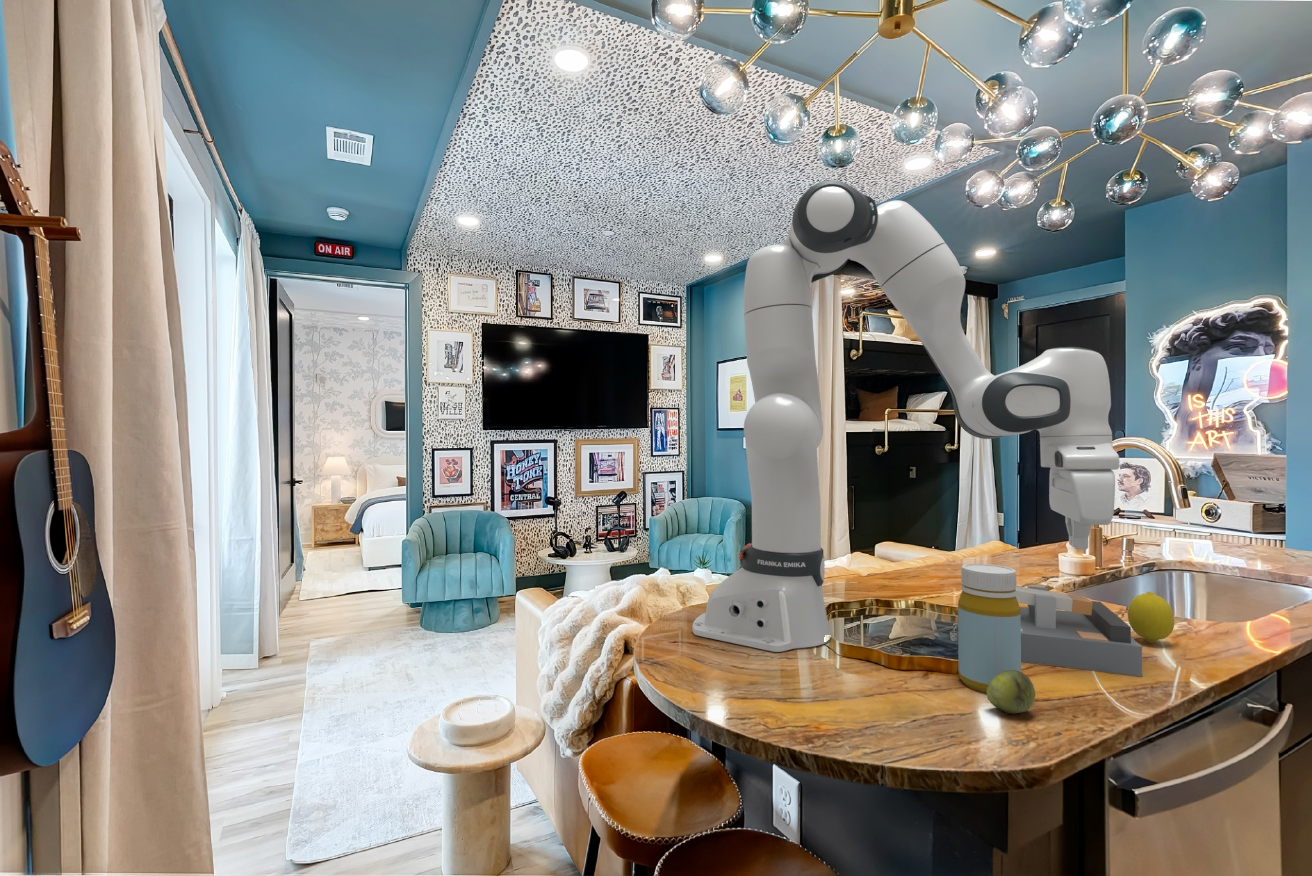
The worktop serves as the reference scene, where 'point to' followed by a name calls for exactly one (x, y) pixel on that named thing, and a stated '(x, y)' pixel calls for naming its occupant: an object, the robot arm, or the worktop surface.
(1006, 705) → the lime
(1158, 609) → the lemon
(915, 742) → the worktop surface
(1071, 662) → the low grey base tray
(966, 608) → the bottle
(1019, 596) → the lever
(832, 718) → the worktop surface
